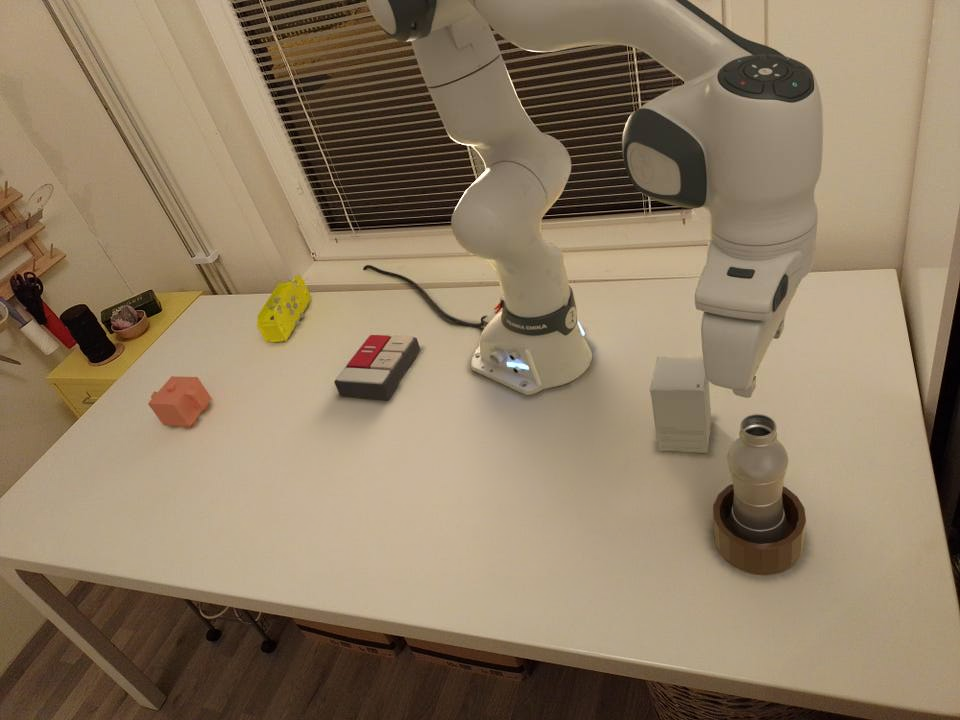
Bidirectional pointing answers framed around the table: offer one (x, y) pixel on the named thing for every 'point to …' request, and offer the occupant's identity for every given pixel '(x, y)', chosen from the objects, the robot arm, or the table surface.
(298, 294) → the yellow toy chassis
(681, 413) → the white packaging box
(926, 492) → the table surface
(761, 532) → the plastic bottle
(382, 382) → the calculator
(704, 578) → the table surface
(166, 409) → the pink studded cube
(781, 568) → the cup
